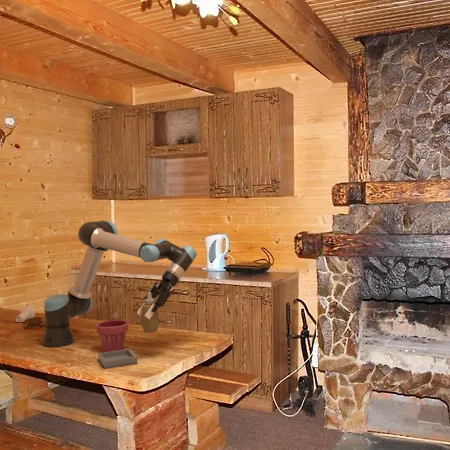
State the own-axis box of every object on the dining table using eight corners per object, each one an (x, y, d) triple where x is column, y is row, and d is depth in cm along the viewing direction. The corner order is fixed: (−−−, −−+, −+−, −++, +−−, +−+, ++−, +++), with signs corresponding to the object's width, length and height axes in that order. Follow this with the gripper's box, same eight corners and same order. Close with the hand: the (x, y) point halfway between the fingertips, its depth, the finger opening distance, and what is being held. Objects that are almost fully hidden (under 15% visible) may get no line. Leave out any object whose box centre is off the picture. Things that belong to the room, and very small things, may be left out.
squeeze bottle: (142, 329, 240) (140, 290, 239) (160, 328, 240) (158, 289, 239) (140, 334, 232) (139, 293, 231) (159, 333, 232) (158, 292, 231)
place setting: (42, 322, 313) (42, 312, 313) (64, 326, 301) (63, 316, 301) (15, 328, 299) (15, 318, 298) (37, 333, 287) (37, 322, 287)
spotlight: (37, 317, 319) (33, 304, 318) (27, 325, 309) (22, 312, 307) (26, 319, 321) (22, 307, 320) (15, 327, 311) (10, 314, 309)
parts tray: (98, 359, 235) (98, 353, 235) (129, 355, 241) (129, 348, 240) (104, 368, 222) (104, 361, 222) (137, 363, 228) (137, 357, 228)
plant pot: (92, 353, 245) (90, 326, 244) (106, 345, 258) (105, 319, 258) (120, 355, 241) (119, 327, 240) (133, 346, 254) (132, 320, 254)
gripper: (189, 282, 237) (159, 325, 227) (166, 278, 252) (137, 317, 243) (179, 272, 233) (148, 314, 224) (156, 268, 248) (126, 307, 239)
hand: (142, 316), depth 233 cm, fingers closed on squeeze bottle, 6 cm apart
